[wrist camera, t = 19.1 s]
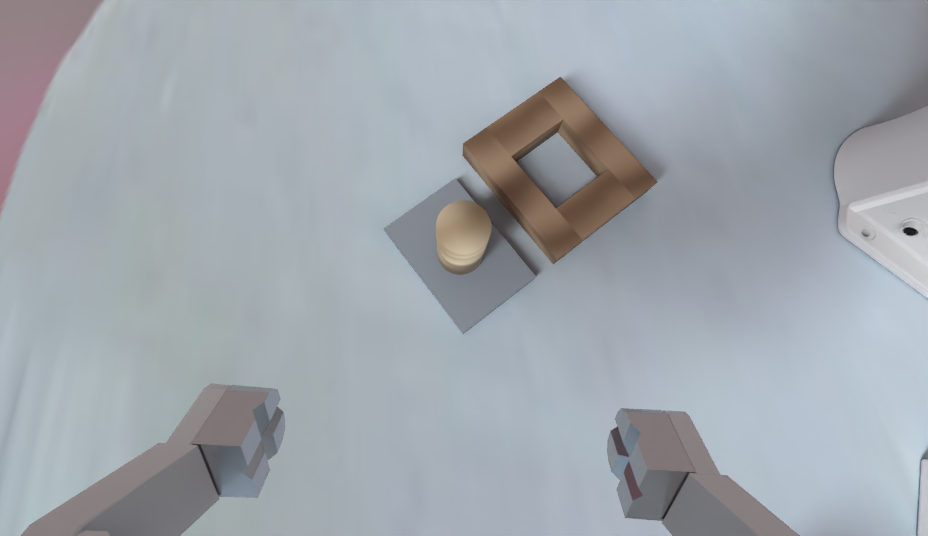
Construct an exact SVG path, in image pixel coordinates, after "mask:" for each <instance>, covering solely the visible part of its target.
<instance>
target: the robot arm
mask: <svg viewBox="0 0 928 536" xmlns="http://www.w3.org/2000/svg"><path fill="white" fill-rule="evenodd" d="M834 180H835V186H836V190H837V193H838V197H839V202H840V209H839V215H838V229H839V231H840V233H841V234H842V236H844V237H845V238H846V239H847V240H849V241H850V242H852V243H853V244H854V245H856V246H857V247H858V248H860V249H861V250H862V251H864V252H865V253H866V254H868V255H869V256H871V257H872V258H873V259H875V260H876V261H877V262H879V263H880V264H881V265H883V266H884V267H885V268H887V269H888V270H890V271H891V272H892V273H894V274H895V275H896V276H898V277H899V278H900V279H902V280H903V281H905V282H906V283H907V284H909V285H910V286H911V287H913V288H914V289H915V290H917V291H918V292H919V293H921V294H922V295H924V296H925V297H926V298H928V105H927V106H925V107H923V108H920V109H918V110H916V111H913V112H911V113H908V114H906V115H903V116H901V117H898V118H895V119H892V120H889V121H886V122H883V123H880V124H876V125H872V126H868V127H865V128H862V129H860V130H858V131H856V132H855V133H853V134H852V135H851V136H849V137H848V138H847V139H846V140H845V142H844V143H843V144H842V146H841V147H840V149H839V151H838V153H837V156H836V159H835V165H834ZM862 233H863V235H864V236H863V235H862ZM279 401H280V396H279V392H278V389H273V388H261V387H249V386H237V385H222V384H210V385H208V386H207V387H206V388H204V389H203V391H202V392H201V394H200V395H199V396H198V398H197V399H196V401H195V402H194V404H193V405H192V406H191V408H190V409H189V411H188V412H187V414H186V415H185V416H184V418H183V419H182V421H181V422H180V424H179V425H178V426H177V428H176V429H175V431H174V432H173V434H172V435H171V436H170V438H169V439H168V441H167V442H166V443H158V444H157V445H155V446H153V447H152V448H150V449H149V450H147V451H146V452H144V453H142V454H141V455H139V456H138V457H136V458H135V459H133V460H131V461H130V462H128V463H127V464H125V465H123V466H122V467H120V468H119V469H117V470H116V471H114V472H112V473H111V474H109V475H108V476H106V477H105V478H103V479H101V480H100V481H98V482H97V483H95V484H94V485H92V486H90V487H89V488H87V489H86V490H84V491H82V492H81V493H79V494H78V495H76V496H75V497H73V498H71V499H70V500H68V501H67V502H65V503H64V504H62V505H60V506H59V507H57V508H56V509H54V510H52V511H51V512H49V513H48V514H46V515H45V516H43V517H41V518H40V519H38V520H37V521H35V522H34V523H32V524H30V525H29V526H28V528H27V529H26V530H25V531H24V532H23V534H22V535H21V536H180V535H181V534H182V533H183V532H184V531H186V530H187V529H188V528H189V527H190V526H191V525H192V524H193V523H194V522H195V521H196V520H197V519H198V518H199V517H201V516H202V515H203V514H204V513H205V512H206V511H207V510H208V509H209V508H210V507H211V506H212V505H213V504H214V503H216V502H217V501H218V500H219V497H255V498H258V496H259V494H260V491H261V489H262V487H263V485H264V482H265V480H266V478H267V476H268V473H269V471H270V469H269V465H268V461H267V460H269V459H270V458H271V457H272V456H274V455H275V454H276V453H277V452H278V450H279V448H280V445H281V443H282V440H283V435H284V431H285V417H284V412H283V411H282V410H281V409H279V408H278V407H277V405H278V403H279ZM615 420H616V423H617V427H616V428H614V429H613V430H611V431H610V434H609V438H608V444H607V454H608V461H609V465H610V468H611V471H612V472H613V473H614V475H615V476H616V477H617V478H618V479H619V480H620V482H619V485H618V487H617V492H618V496H619V499H620V502H621V506H622V509H623V513H624V516H625V518H634V519H646V520H658V521H663V522H662V524H663V525H664V526H665V527H666V528H667V530H668V531H669V532H670V533H671V534H672V536H799V535H798V534H797V533H796V532H795V531H793V530H792V529H791V528H790V527H789V526H787V525H786V524H785V523H784V522H783V521H781V520H780V519H779V518H778V517H777V516H775V515H774V514H773V513H772V512H771V511H769V510H768V509H767V508H766V507H765V506H763V505H762V504H761V503H760V502H759V501H757V500H756V499H755V498H754V497H753V496H751V495H750V494H749V493H748V492H746V491H745V490H744V489H743V488H742V487H740V486H739V485H738V484H737V483H736V482H734V481H733V480H732V479H731V478H730V477H728V476H727V475H720V473H719V471H718V469H717V467H716V466H715V464H714V462H713V460H712V458H711V456H710V454H709V452H708V450H707V449H706V447H705V445H704V443H703V441H702V439H701V437H700V435H699V433H698V431H697V430H696V428H695V426H694V424H693V422H692V420H691V418H690V416H689V415H688V414H687V413H686V412H679V411H661V410H647V409H625V408H621V409H620V410H619V411H618V413H617V415H616V418H615Z"/></svg>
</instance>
